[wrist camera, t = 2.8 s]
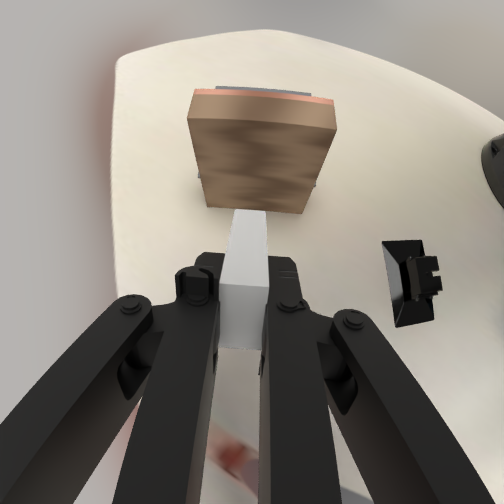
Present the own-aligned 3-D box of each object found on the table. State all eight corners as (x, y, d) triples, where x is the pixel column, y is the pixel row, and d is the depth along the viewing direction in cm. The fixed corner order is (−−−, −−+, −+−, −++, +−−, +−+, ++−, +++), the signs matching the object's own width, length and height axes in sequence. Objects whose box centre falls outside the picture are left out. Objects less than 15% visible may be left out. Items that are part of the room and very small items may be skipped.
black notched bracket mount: (438, 333, 29) (462, 330, 25) (385, 344, 29) (406, 343, 24) (421, 230, 33) (441, 215, 28) (370, 231, 32) (387, 215, 28)
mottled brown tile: (301, 189, 33) (333, 99, 20) (301, 213, 32) (336, 129, 19) (210, 182, 33) (194, 89, 20) (207, 206, 32) (186, 118, 19)
